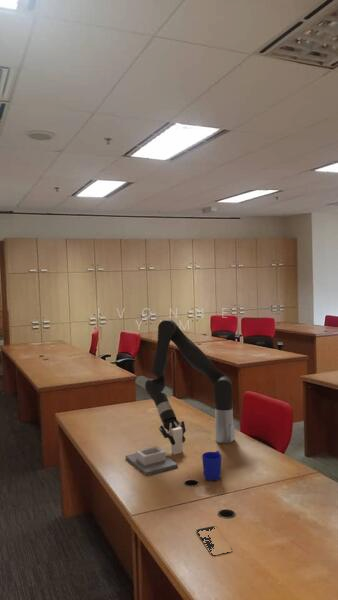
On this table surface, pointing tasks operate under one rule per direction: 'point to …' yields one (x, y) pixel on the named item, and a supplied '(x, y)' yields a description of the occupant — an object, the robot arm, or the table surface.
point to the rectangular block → (177, 440)
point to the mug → (212, 465)
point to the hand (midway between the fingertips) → (178, 442)
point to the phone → (207, 538)
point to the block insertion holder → (151, 460)
